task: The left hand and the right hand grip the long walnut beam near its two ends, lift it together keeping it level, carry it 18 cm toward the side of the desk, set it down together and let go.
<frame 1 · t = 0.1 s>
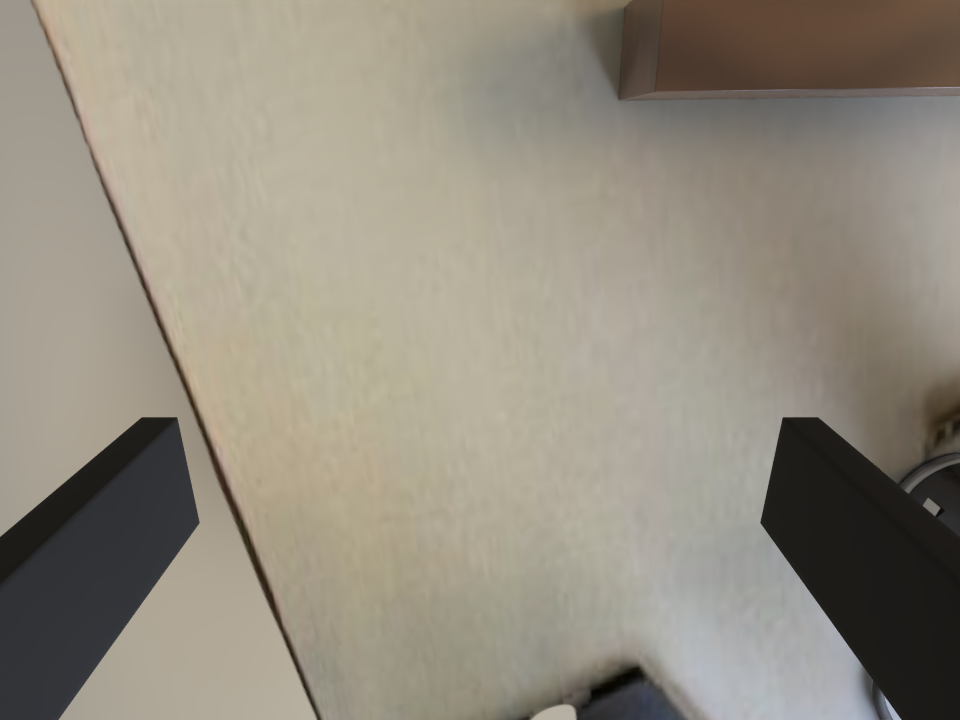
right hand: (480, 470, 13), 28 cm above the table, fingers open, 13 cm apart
walnut beam: (890, 50, 35), on the table
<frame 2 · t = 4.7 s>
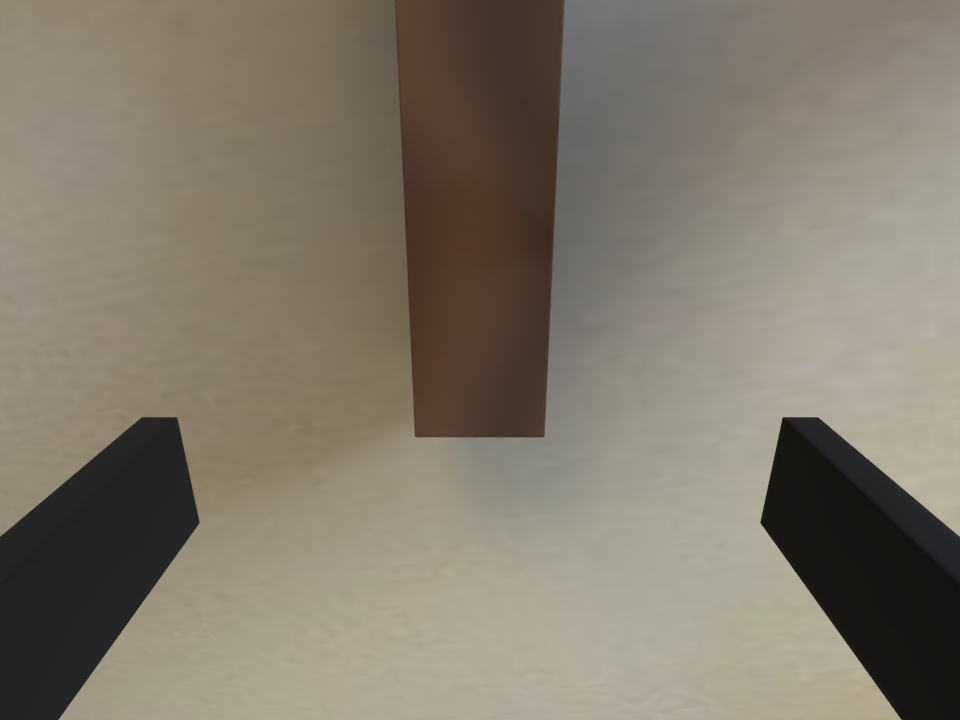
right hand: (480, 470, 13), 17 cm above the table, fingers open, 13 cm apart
walnut beam: (480, 1, 24), on the table, touching left hand
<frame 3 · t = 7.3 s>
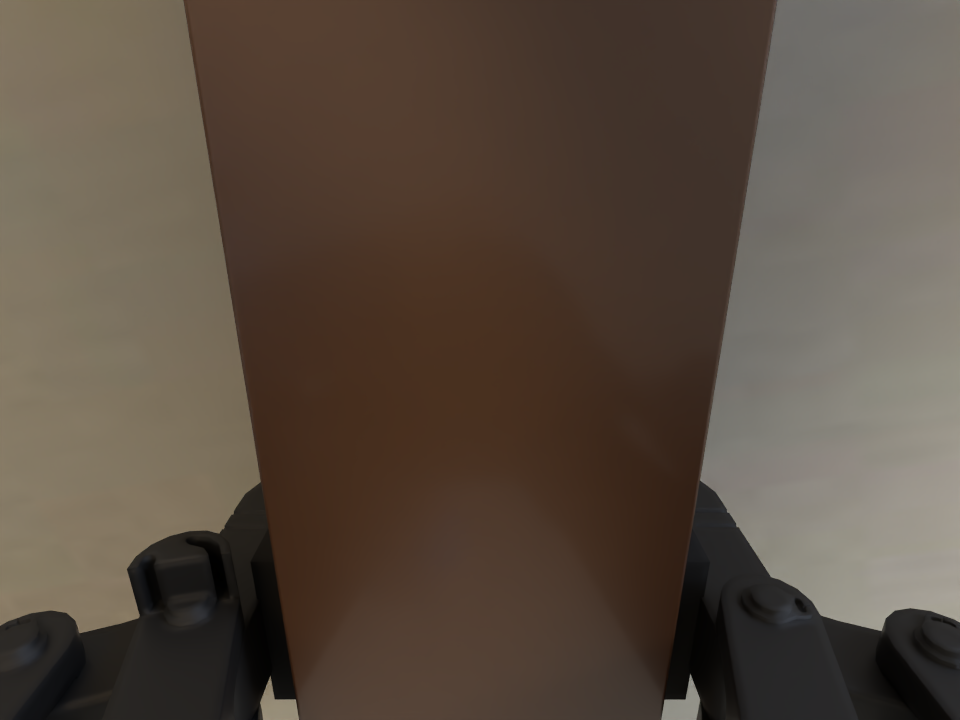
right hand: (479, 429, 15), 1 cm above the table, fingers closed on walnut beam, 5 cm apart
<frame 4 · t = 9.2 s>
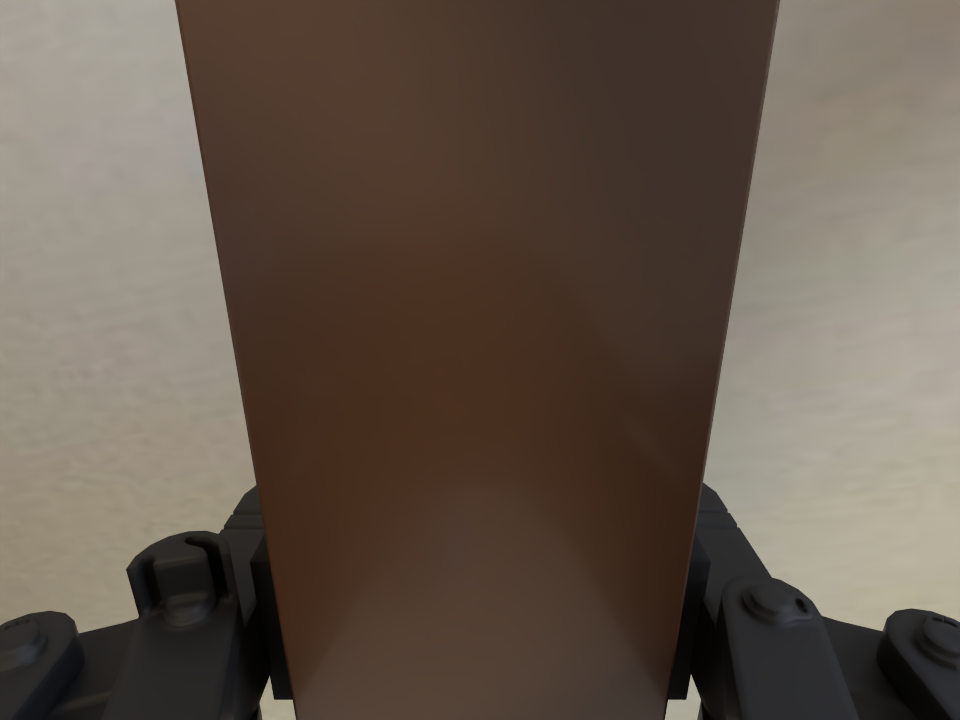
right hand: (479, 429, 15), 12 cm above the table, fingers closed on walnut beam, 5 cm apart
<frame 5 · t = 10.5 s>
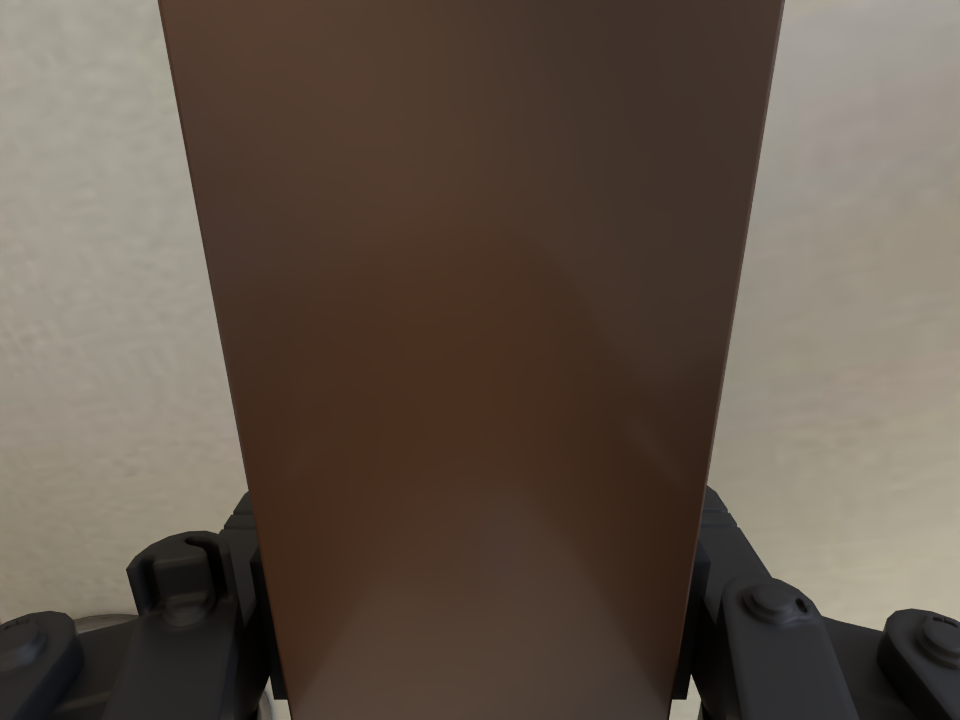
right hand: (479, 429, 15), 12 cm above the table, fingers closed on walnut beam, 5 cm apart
when the right hand's fingers open (1 cm above the table, at t = 13.9 s): walnut beam stays where it is, on the table.
when the left hand's fingers open (4 cm above the table, at t = 14.1 s): walnut beam stays where it is, on the table.
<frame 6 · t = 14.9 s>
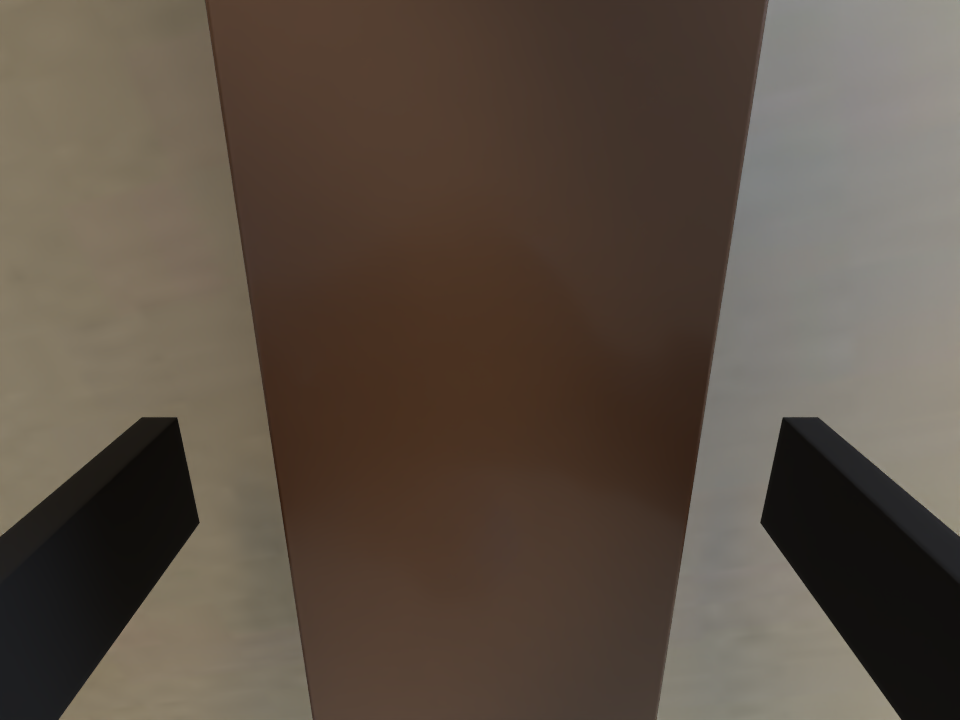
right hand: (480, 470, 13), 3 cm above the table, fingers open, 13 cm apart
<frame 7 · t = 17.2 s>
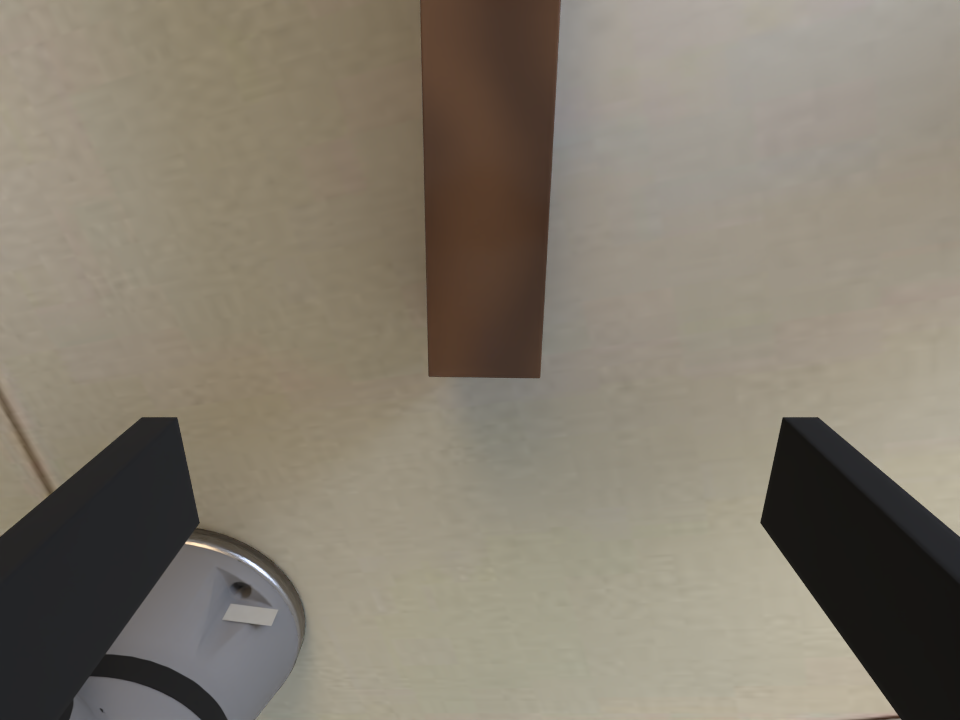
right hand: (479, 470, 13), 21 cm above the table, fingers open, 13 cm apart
walnut beam: (489, 0, 28), on the table
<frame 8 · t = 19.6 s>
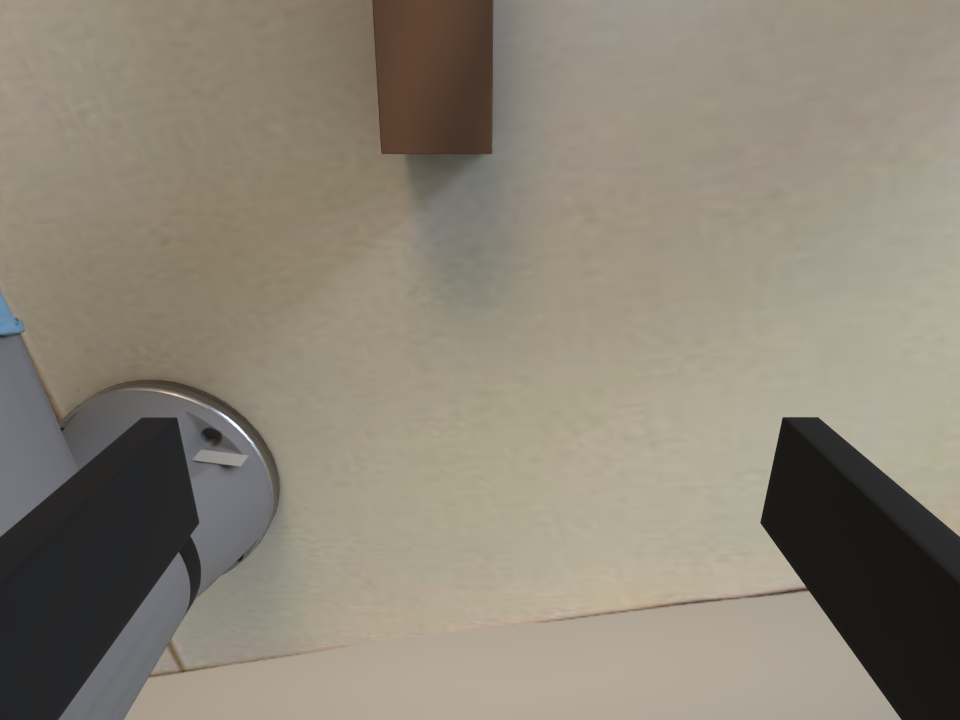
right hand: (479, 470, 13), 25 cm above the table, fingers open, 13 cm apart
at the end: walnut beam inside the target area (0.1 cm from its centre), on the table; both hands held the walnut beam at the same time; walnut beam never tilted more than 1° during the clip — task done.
